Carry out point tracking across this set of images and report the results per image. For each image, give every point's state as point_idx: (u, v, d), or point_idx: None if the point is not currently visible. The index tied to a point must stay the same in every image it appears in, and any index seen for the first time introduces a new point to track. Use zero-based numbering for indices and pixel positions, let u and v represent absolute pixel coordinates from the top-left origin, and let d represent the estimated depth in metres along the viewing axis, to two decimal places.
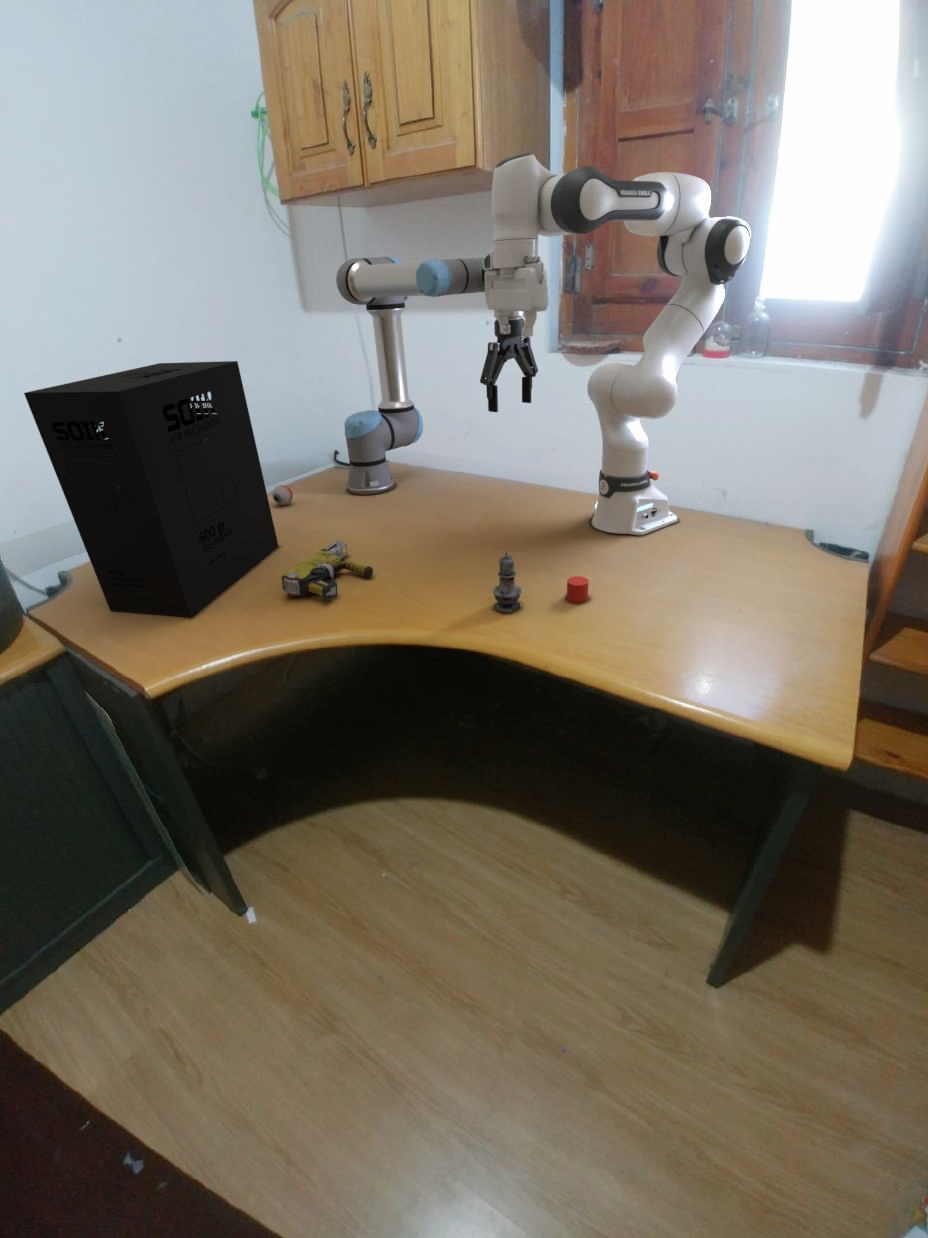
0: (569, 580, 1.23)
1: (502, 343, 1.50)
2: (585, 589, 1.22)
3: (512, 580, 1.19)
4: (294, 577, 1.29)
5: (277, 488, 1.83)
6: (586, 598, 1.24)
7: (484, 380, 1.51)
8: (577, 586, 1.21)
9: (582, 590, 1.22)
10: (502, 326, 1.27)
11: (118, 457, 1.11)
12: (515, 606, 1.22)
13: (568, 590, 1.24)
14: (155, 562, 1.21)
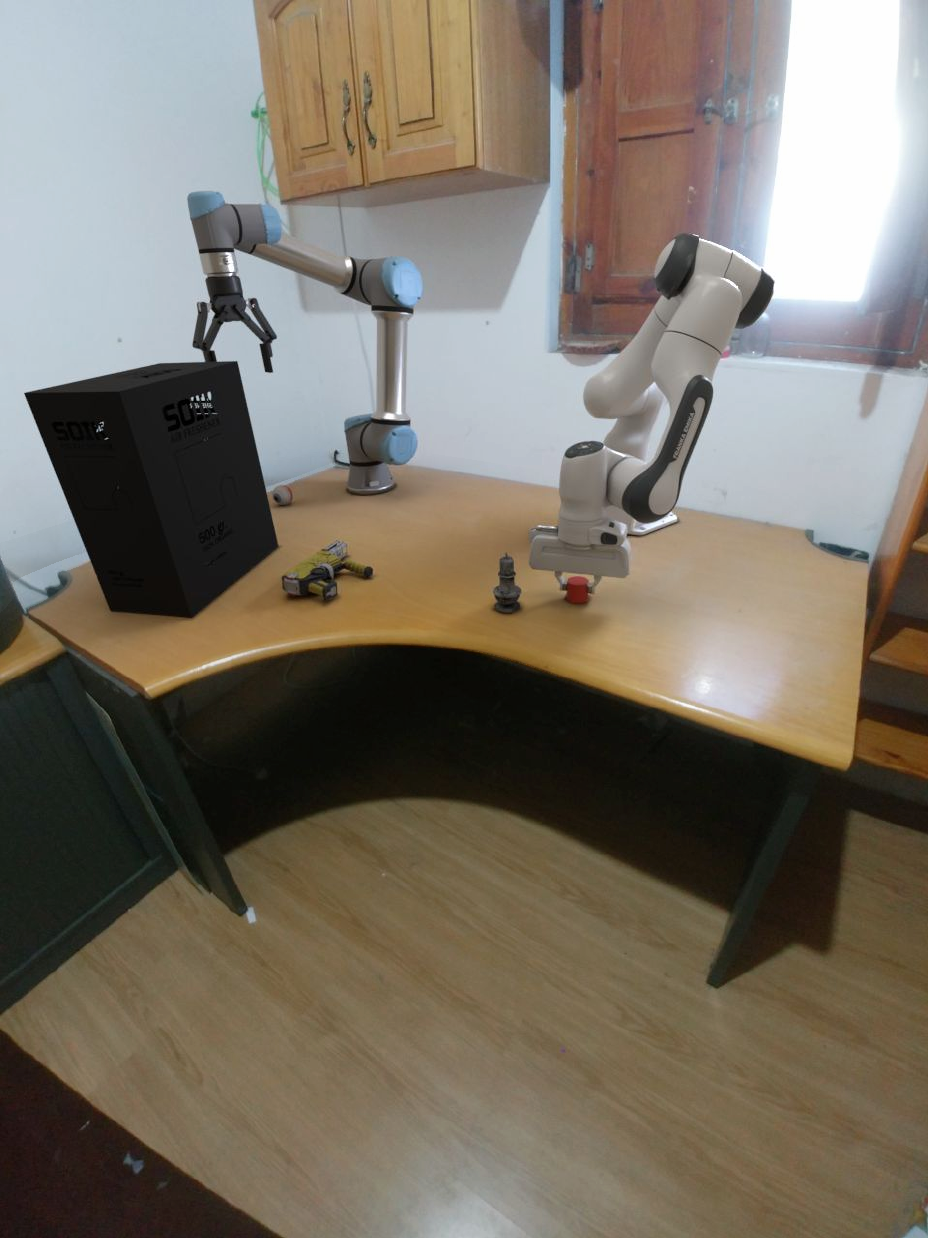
0: (569, 580, 1.23)
1: (213, 303, 1.35)
2: (585, 589, 1.22)
3: (512, 580, 1.19)
4: (294, 577, 1.29)
5: (277, 488, 1.83)
6: (586, 598, 1.24)
7: (195, 344, 1.36)
8: (577, 586, 1.21)
9: (582, 590, 1.22)
10: None
11: (118, 457, 1.11)
12: (515, 606, 1.22)
13: (568, 590, 1.24)
14: (155, 562, 1.21)
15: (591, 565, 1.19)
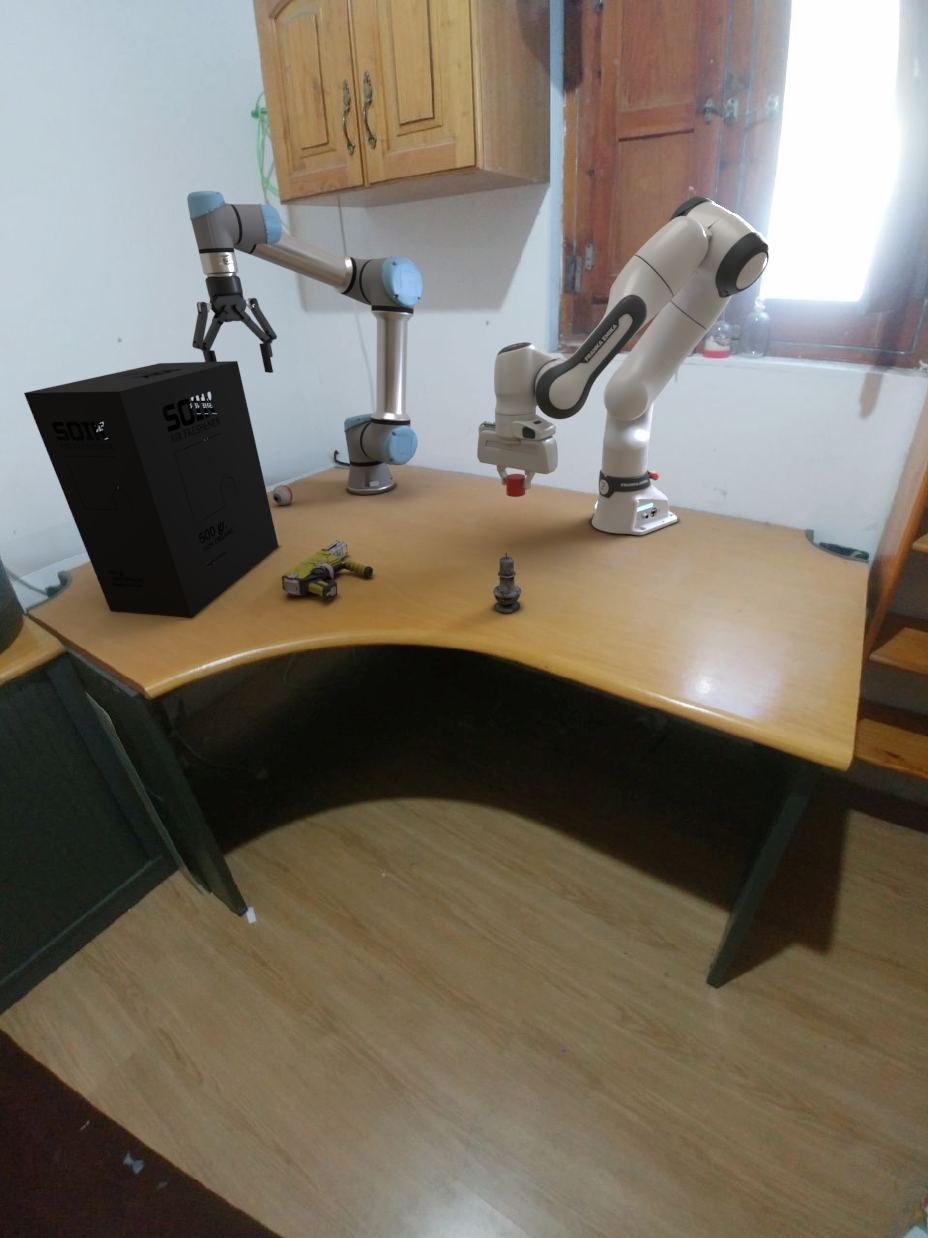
0: (508, 475, 1.38)
1: (213, 303, 1.35)
2: (519, 484, 1.36)
3: (512, 580, 1.19)
4: (294, 577, 1.29)
5: (277, 488, 1.83)
6: (521, 494, 1.37)
7: (195, 344, 1.36)
8: (511, 479, 1.35)
9: (515, 484, 1.36)
10: None
11: (118, 457, 1.11)
12: (515, 606, 1.22)
13: (506, 484, 1.38)
14: (155, 562, 1.21)
15: (521, 459, 1.32)
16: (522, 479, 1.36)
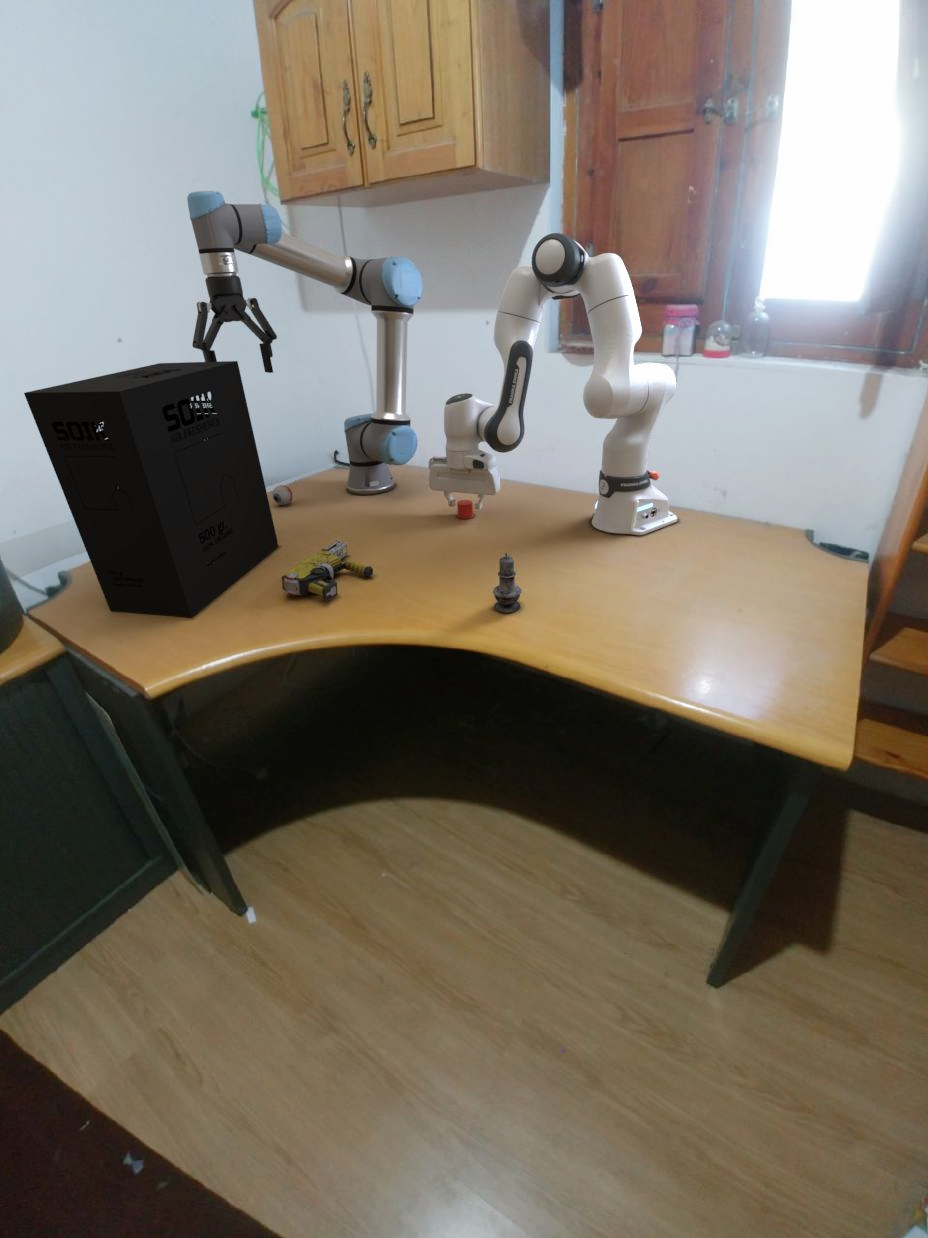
0: (458, 502, 1.69)
1: (213, 303, 1.35)
2: (469, 508, 1.67)
3: (512, 580, 1.19)
4: (294, 577, 1.29)
5: (277, 488, 1.83)
6: (471, 516, 1.69)
7: (195, 344, 1.36)
8: (462, 505, 1.67)
9: (466, 508, 1.67)
10: None
11: (118, 457, 1.11)
12: (515, 606, 1.22)
13: None
14: (155, 562, 1.21)
15: (470, 485, 1.63)
16: (471, 504, 1.68)
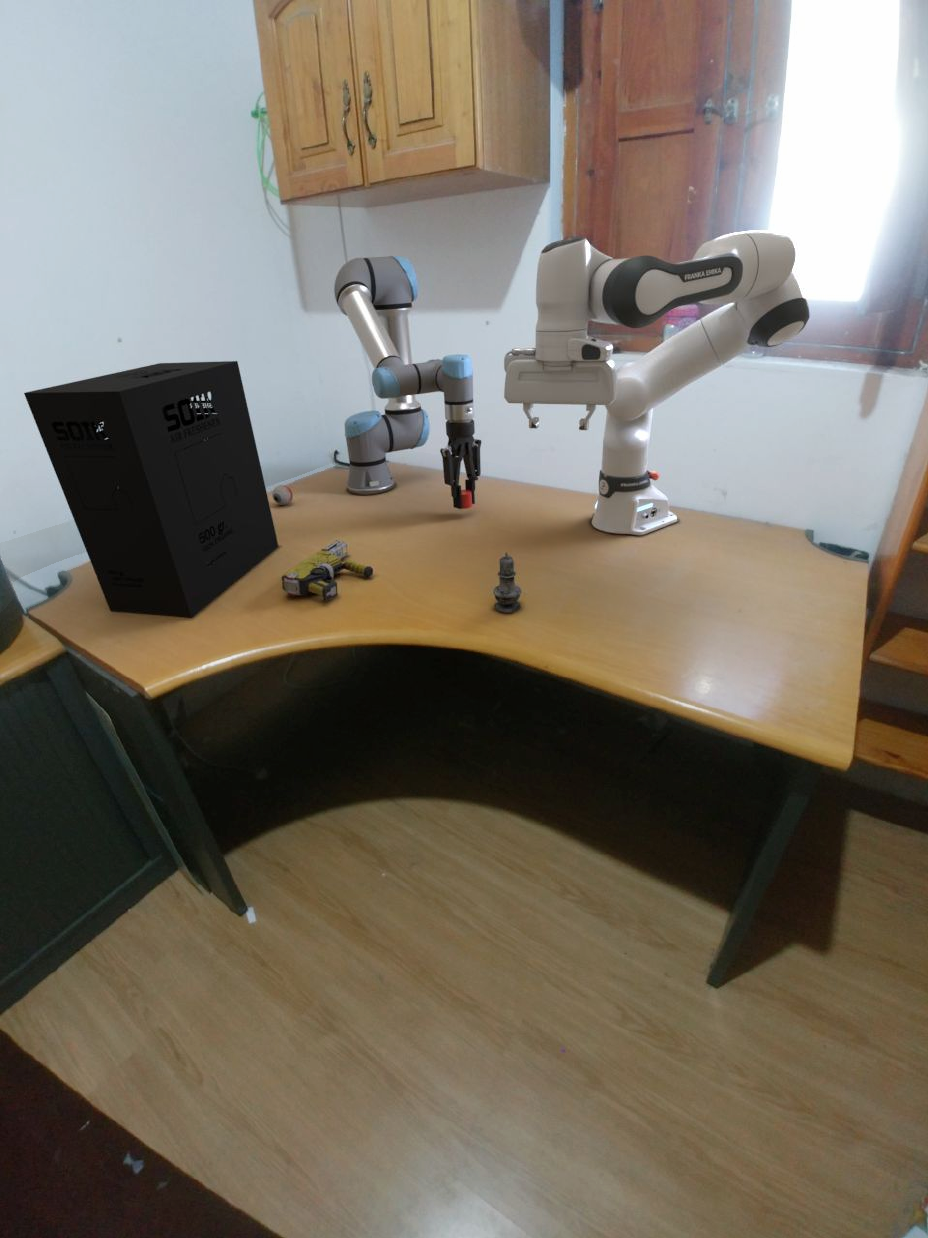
0: None
1: (453, 445, 1.57)
2: (468, 497, 1.66)
3: (512, 580, 1.19)
4: (294, 577, 1.29)
5: (277, 488, 1.83)
6: (470, 505, 1.68)
7: (448, 483, 1.61)
8: None
9: (465, 498, 1.66)
10: None
11: (118, 457, 1.11)
12: (515, 606, 1.22)
13: None
14: (155, 562, 1.21)
15: (572, 390, 1.06)
16: (470, 494, 1.66)
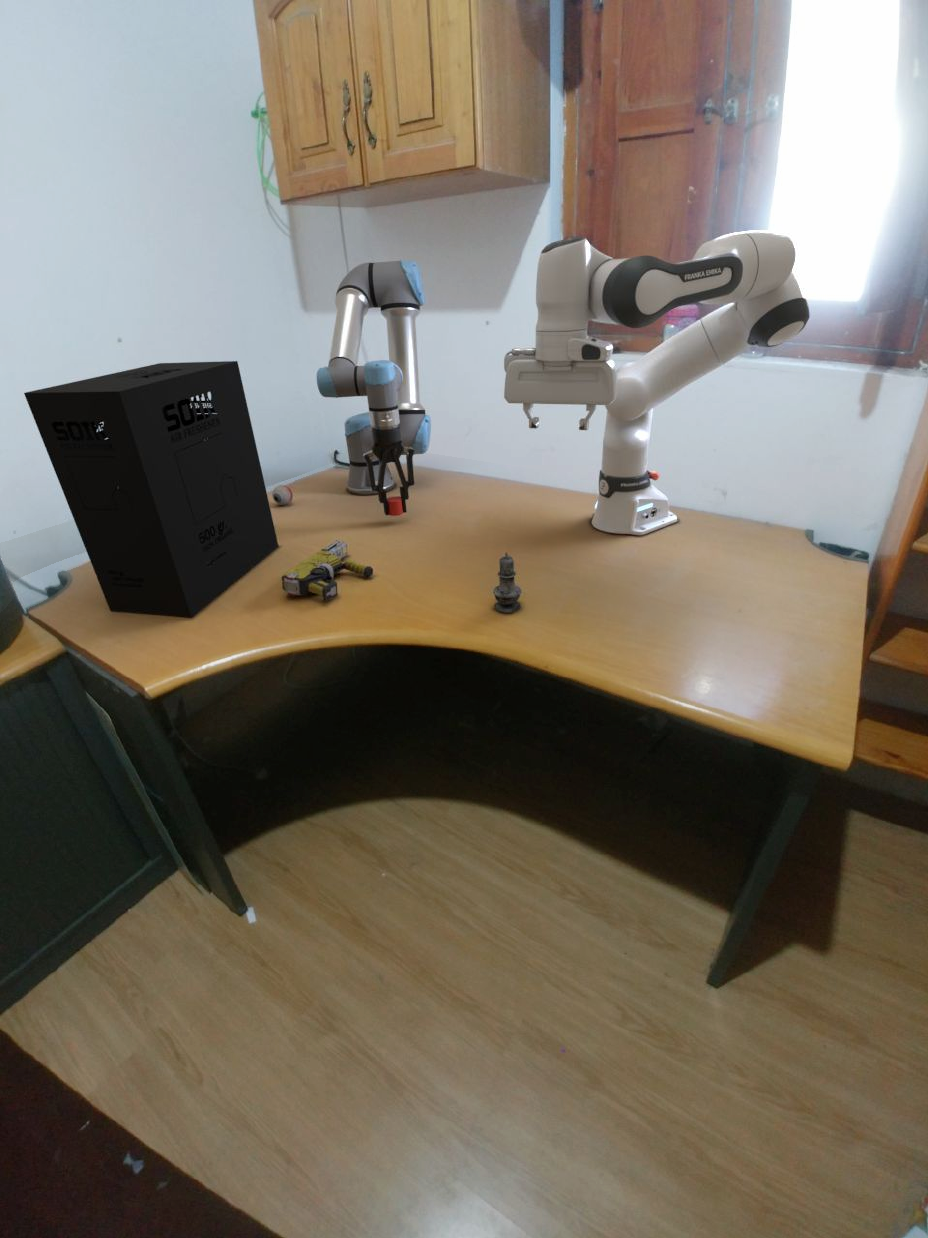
0: (389, 497, 1.66)
1: (374, 451, 1.56)
2: (394, 505, 1.64)
3: (512, 580, 1.19)
4: (294, 577, 1.29)
5: (277, 488, 1.83)
6: (398, 513, 1.65)
7: (371, 488, 1.62)
8: (388, 501, 1.64)
9: (391, 505, 1.64)
10: None
11: (118, 457, 1.11)
12: (515, 606, 1.22)
13: None
14: (155, 562, 1.21)
15: (572, 390, 1.06)
16: (397, 502, 1.64)
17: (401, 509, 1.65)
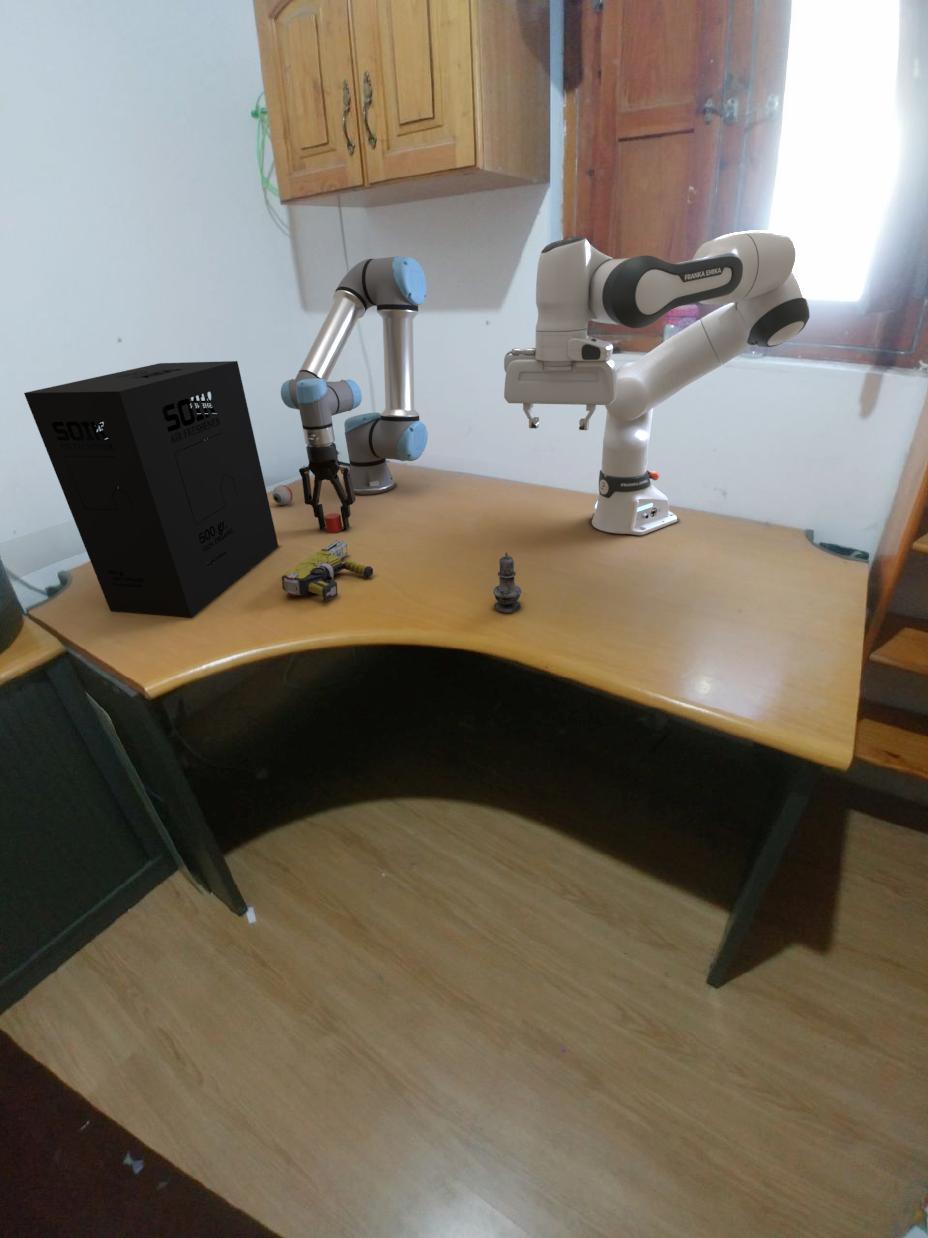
0: (331, 513, 1.66)
1: (308, 466, 1.57)
2: (329, 522, 1.63)
3: (512, 580, 1.19)
4: (294, 577, 1.29)
5: (277, 488, 1.83)
6: (333, 531, 1.64)
7: None
8: None
9: (326, 522, 1.64)
10: None
11: (118, 457, 1.11)
12: (515, 606, 1.22)
13: None
14: (155, 562, 1.21)
15: (572, 390, 1.06)
16: (331, 519, 1.63)
17: (337, 527, 1.64)
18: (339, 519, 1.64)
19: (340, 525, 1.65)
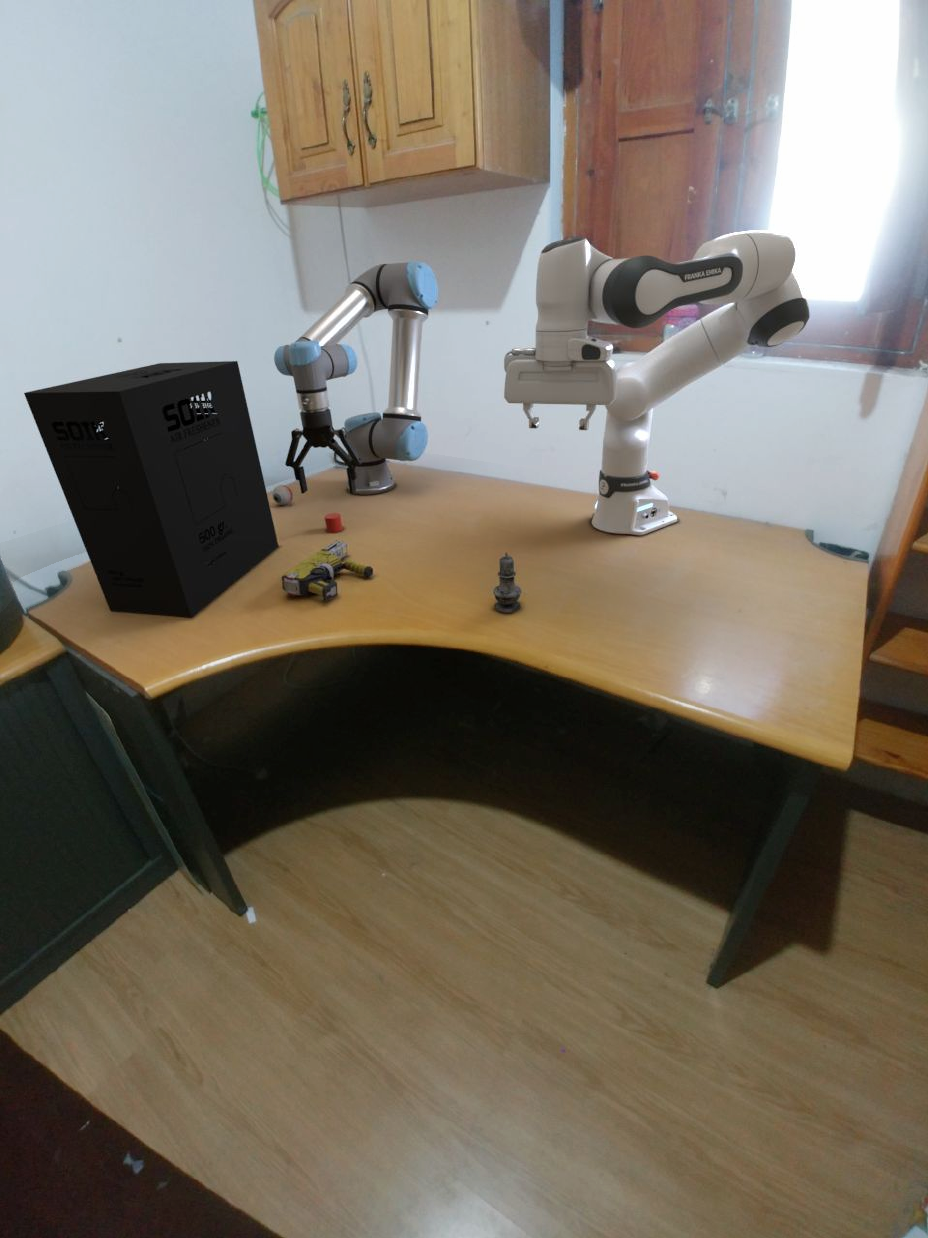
0: (331, 513, 1.66)
1: (302, 432, 1.53)
2: (329, 522, 1.63)
3: (512, 580, 1.19)
4: (294, 577, 1.29)
5: (277, 488, 1.83)
6: (333, 531, 1.64)
7: None
8: None
9: (326, 522, 1.64)
10: None
11: (118, 457, 1.11)
12: (515, 606, 1.22)
13: None
14: (155, 562, 1.21)
15: (572, 390, 1.06)
16: (331, 519, 1.63)
17: (337, 527, 1.64)
18: (339, 519, 1.64)
19: (340, 525, 1.65)
